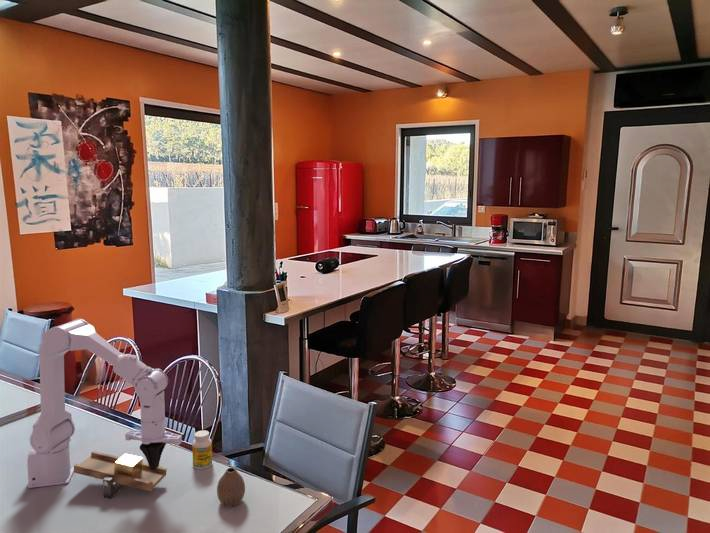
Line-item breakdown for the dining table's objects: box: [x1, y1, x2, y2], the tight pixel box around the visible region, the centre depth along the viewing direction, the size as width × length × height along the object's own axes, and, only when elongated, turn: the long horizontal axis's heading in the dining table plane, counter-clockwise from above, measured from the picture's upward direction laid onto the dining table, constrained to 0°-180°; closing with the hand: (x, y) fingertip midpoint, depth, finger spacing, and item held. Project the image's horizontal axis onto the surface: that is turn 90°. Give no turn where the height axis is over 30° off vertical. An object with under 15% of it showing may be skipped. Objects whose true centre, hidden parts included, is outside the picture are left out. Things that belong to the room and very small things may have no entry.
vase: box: [216, 467, 246, 508], centre depth 129 cm, size 7×7×9 cm
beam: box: [73, 450, 168, 492], centre depth 135 cm, size 22×8×2 cm, turn 81°
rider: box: [114, 452, 144, 477], centre depth 134 cm, size 5×5×4 cm
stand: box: [102, 477, 126, 499], centre depth 135 cm, size 2×12×5 cm, turn 171°
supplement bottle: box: [191, 429, 213, 470], centre depth 146 cm, size 5×5×10 cm
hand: (154, 467), depth 133 cm, fingers closed
